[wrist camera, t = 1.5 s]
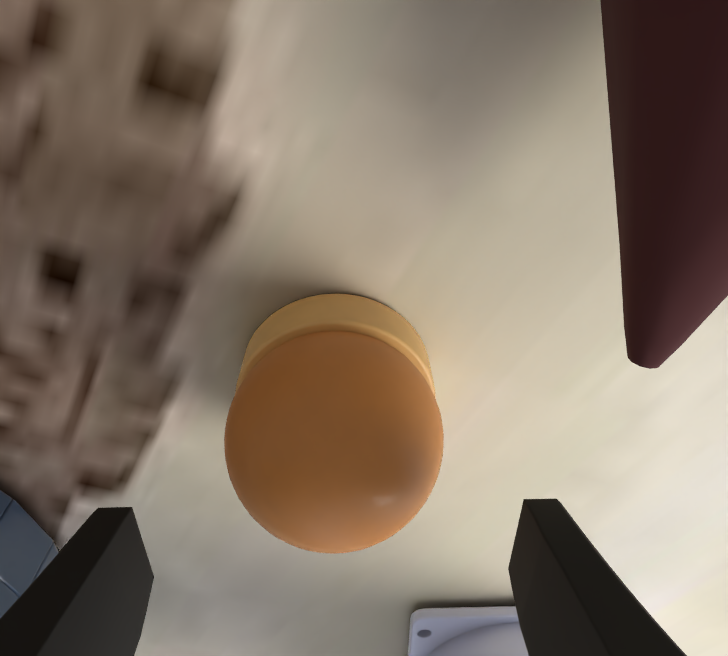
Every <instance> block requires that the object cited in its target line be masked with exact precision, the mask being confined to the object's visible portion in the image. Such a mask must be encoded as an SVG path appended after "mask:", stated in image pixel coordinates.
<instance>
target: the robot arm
mask: <svg viewBox="0 0 728 656" xmlns="http://www.w3.org/2000/svg"><path fill="white" fill-rule="evenodd" d="M508 570H509V575H510V580H511V585H512V591H513V596H514V601H515V606H500V607H457V608H423V609H418V610H416V611H415V612H413V613H412V615H411V619H410V631H409V643H408V656H687V655H686V654H685V653H684V652H683V651H682V650H681V649H680V648H679V647H678V646H677V645H676V643H675V642H674V641H673V640H672V639H671V638H670V637H669V636H668V635H667V633H666V632H665V631H664V630H663V629H662V628H661V627H660V626H659V624H658V623H657V622H656V621H655V620H654V619H653V618H652V616H651V615H650V614H649V613H648V612H647V610H646V609H645V608H644V607H643V606H642V605H641V603H640V602H639V601H638V600H637V599H636V597H635V596H634V595H633V594H632V593H631V592H630V590H629V589H628V588H627V587H626V586H625V584H624V583H623V582H622V581H621V580H620V578H619V577H618V576H617V575H616V573H615V572H614V571H613V570H612V568H611V567H610V566H609V565H608V563H607V562H606V561H605V560H604V558H603V557H602V556H601V555H600V553H599V552H598V551H597V550H596V548H595V547H594V546H593V544H592V543H591V542H590V541H589V539H588V538H587V537H586V535H585V534H584V533H583V532H582V530H581V529H580V528H579V526H578V525H577V524H576V522H575V521H574V520H573V518H572V517H571V516H570V514H569V513H568V512H567V510H566V509H565V508H564V507H563V505H562V504H561V503H560V502H559V501H558V500H557V499H524V501H523V505H522V510H521V514H520V519H519V523H518V528H517V532H516V537H515V541H514V546H513V550H512V554H511V559H510V563H509V568H508ZM153 579H154V576H153V572H152V569H151V566H150V563H149V560H148V557H147V553H146V550H145V547H144V544H143V541H142V538H141V534H140V531H139V528H138V525H137V522H136V519H135V515H134V512H133V509H132V507H114V508H98V509H96V510H95V511H94V512H93V513H92V515H91V516H90V517H89V518H88V519H87V520H86V522H85V523H84V524H83V525H82V526H81V527H80V528H79V530H78V531H77V532H76V533H75V534H74V535H73V537H72V538H71V539H70V540H69V541H68V542H67V544H66V545H65V546H64V547H63V548H62V549H61V551H60V552H59V553H58V554H57V555H56V556H55V558H54V559H53V560H52V561H51V562H50V563H49V565H48V566H47V567H46V568H45V569H44V570H43V571H42V573H41V574H40V575H39V576H38V577H37V578H36V579H35V581H34V582H33V583H32V584H31V585H30V586H29V587H28V588H27V589H26V591H25V592H24V593H23V594H22V595H21V596H20V597H19V598H18V599H17V601H16V602H15V603H14V604H13V605H12V606H11V607H10V608H9V609H8V610H7V612H6V613H5V614H4V615H3V616H2V617H1V618H0V656H134V654H135V651H136V648H137V645H138V642H139V639H140V636H141V632H142V628H143V624H144V619H145V615H146V611H147V607H148V602H149V597H150V593H151V588H152V583H153Z"/></svg>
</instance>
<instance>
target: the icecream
mask: <svg viewBox="0 0 728 656" xmlns="http://www.w3.org/2000/svg"><path fill="white" fill-rule="evenodd" d="M601 12H602V25H603V38H604V50H605V63H606V76H607V89H608V102H609V114H610V127H611V140H612V153H613V166H614V179H615V191H616V204H617V217H618V230H619V243H620V260H621V278H622V296H623V313H624V329H625V338H626V346H627V355H628V358H629V359H630V361H631V362H633V363H635V364H637V365H639V366H641V367H646V368H658V367H659V366H660V365H661V364H662V363H663V362H664V361H665V360H666V359H667V358H668V357H669V356H671V355H672V354H673V353H674V352H675V351H676V350H677V349H678V348H679V347H680V346H681V345H682V344H683V343H684V342H685V341H686V340H687V338H688V337H689V336H690V335H691V334H692V333H693V332H694V331H695V330H696V329H697V328H698V327H699V326H700V325H701V323H702V322H703V321H704V320H705V319H706V318H707V317H708V316H709V315H710V314H711V313H712V312H713V311H714V310H715V308H716V307H717V306H718V305H719V304H720V303H721V302H722V301H723V300H724V299H725V298H726V297H727V296H728V0H601Z"/></svg>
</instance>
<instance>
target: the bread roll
mask: <svg viewBox="0 0 728 656" xmlns="http://www.w3.org/2000/svg"><path fill="white" fill-rule="evenodd" d="M224 443H225V459H226V464H227V469H228V473H229V476H230V480H231V482H232V484H233V487H234V489H235V491H236V493H237V496H238V498H239V499H240V501H241V502H242V504H243V505H244V507H245V508H246V510H247V511H248V512H249V514H250V515H251V516H252V517H253V518H254V519H255V521H257V522H258V523H259V524H260V525H261V526H262V527H263V528H265V529H266V530H267V531H268V532H269V533H271V534H272V535H274V536H275V537H277V538H278V539H280V540H282V541H284V542H286V543H288V544H291V545H293V546H295V547H298V548H301V549H304V550H308V551H313V552H319V553H346V552H353V551H357V550H362V549H365V548H368V547H370V546H373V545H375V544H377V543H380V542H382V541H384V540H386V539H387V538H389V537H391V536H393V535H394V534H395V533H397V532H398V531H399V530H401V529H402V528H403V527H404V526H405V525H407V524H408V523H409V522H410V521H411V520H412V519H413V518H414V516H415V515H416V514H417V513H418V511H419V510H420V509H421V508H422V506H423V505H424V504H425V502H426V500H427V499H428V497H429V495H430V493H431V491H432V489H433V487H434V485H435V482H436V480H437V477H438V474H439V470H440V466H441V461H442V456H443V427H442V420H441V414H440V411H439V408H438V405H437V402H436V399H435V388H434V382H433V378H432V373H431V369H430V364H429V360H428V355H427V352H426V349H425V346H424V344H423V342H422V340H421V338H420V336H419V335H418V333H417V332H416V331H415V329H414V328H413V327H412V326H411V325H410V324H409V323H408V321H407V320H406V319H404V318H403V317H402V316H401V315H399V314H398V313H397V312H395V311H394V310H392V309H390V308H389V307H387V306H385V305H383V304H381V303H379V302H376V301H374V300H371V299H368V298H364V297H361V296H355V295H349V294H321V295H316V296H311V297H307V298H304V299H300V300H297V301H295V302H293V303H290V304H288V305H286V306H284V307H283V308H281V309H279V310H278V311H276V312H274V313H273V314H272V315H271V316H270V317H268V318H267V319H266V320H265V321H264V322H263V323H262V324H261V325H260V326H259V327H258V329H257V330H256V331H255V333H254V334H253V336H252V337H251V339H250V342H249V344H248V346H247V349H246V352H245V356H244V359H243V363H242V366H241V370H240V374H239V377H238V381H237V384H236V393H235V396H234V398H233V401H232V403H231V406H230V409H229V413H228V417H227V422H226V427H225V437H224Z"/></svg>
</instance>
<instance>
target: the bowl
mask: <svg viewBox="0 0 728 656" xmlns="http://www.w3.org/2000/svg"><path fill="white" fill-rule="evenodd" d="M58 553H59V551H58V549H57V547H56V545H55V543H54V542H53V539H52V538H51V537H50V536H49V535H48V534H47V533H46V532H45V531H44V530H43V529H42V528H41V527H40V526H39V525H38V524H37V522H36V521H35V520H34V519H33V518H32V517H31V516H30V515H29V514H28V513H27V512H26V511H25V510H24V509H23V508H22V507H21V506H20V505H19V504H18V503H17V502H16V500H13V499H12V497H10V496H9V495H7V494H6V493H4V492H2V491H1V490H0V618H1V617H2V616H3V615H4V614H5V613H6V612H7V610H8V609H9V608H10V607H11V606H12V605H13V604H14V603H15V602H16V601H17V599H18V598H19V597H20V596H21V595H22V594H23V593H24V592H25V591H26V589H27V588H28V587H29V586H30V585H31V584H32V583H33V582H34V581H35V579H36V578H37V577H38V576H39V575H40V574H41V573H42V571H43V570H44V569H45V568H46V567H47V566H48V565H49V563H50V562H51V561H52V560H53V559H54V558H55V556H56V555H57V554H58Z"/></svg>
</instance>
